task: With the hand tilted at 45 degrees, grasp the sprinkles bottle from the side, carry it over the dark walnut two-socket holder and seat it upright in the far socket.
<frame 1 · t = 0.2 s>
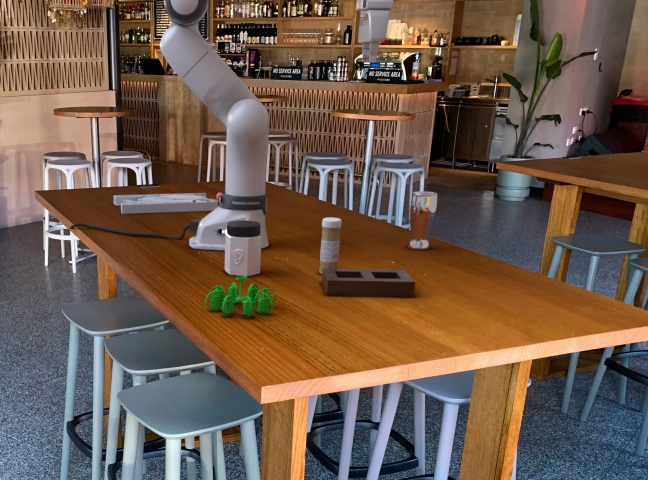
hand: (368, 62, 204), 48 cm above the table, tool pointing down, fingers open, 8 cm apart
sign: (165, 207, 278), on the table
chandelier: (240, 310, 166), on the table
holder: (366, 289, 180), on the table
beer glass: (418, 248, 221), on the table
jar: (242, 273, 194), on the table
sprinkles bottle: (327, 274, 194), on the table
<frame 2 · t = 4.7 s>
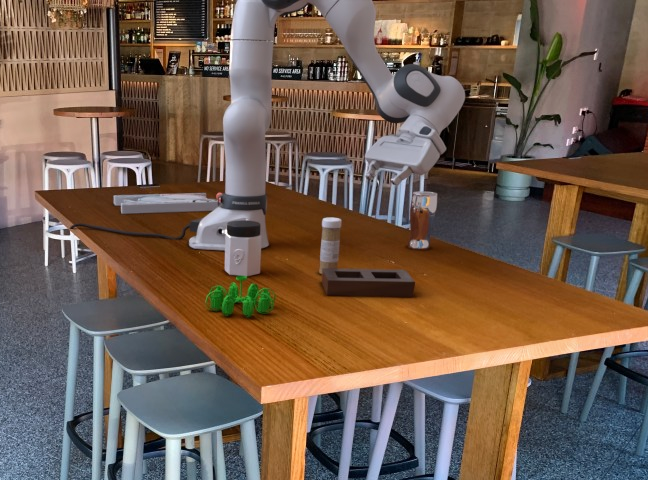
hand: (380, 180, 192), 21 cm above the table, tool tilted 45°, fingers open, 8 cm apart
nothing on the table moved.
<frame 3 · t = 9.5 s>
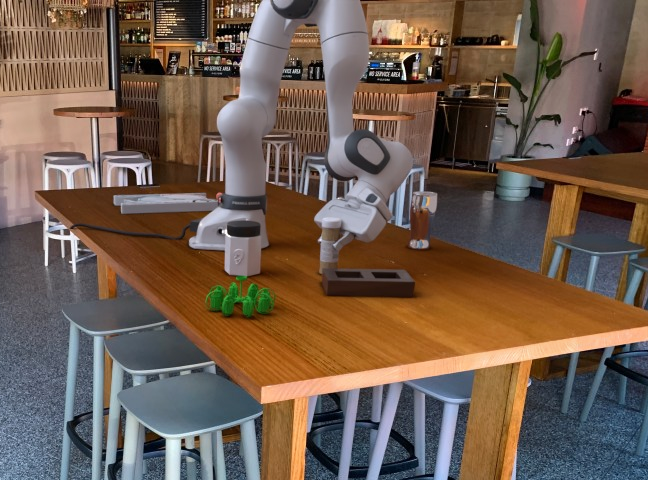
hand: (327, 246, 191), 7 cm above the table, tool tilted 45°, fingers closed on sprinkles bottle, 4 cm apart
sprinkles bottle: (327, 274, 194), on the table, touching gripper
everything else where it was.
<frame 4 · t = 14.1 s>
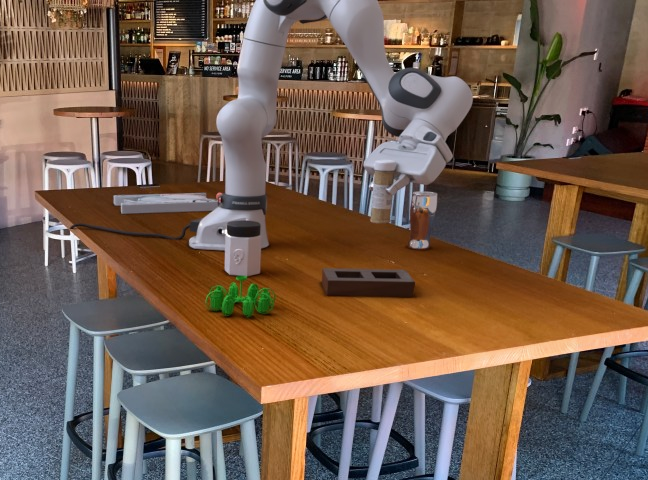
hand: (380, 191, 174), 22 cm above the table, tool tilted 45°, fingers closed on sprinkles bottle, 4 cm apart
sprinkles bottle: (380, 223, 177), point 15 cm above the table, touching gripper
everything else where it was.
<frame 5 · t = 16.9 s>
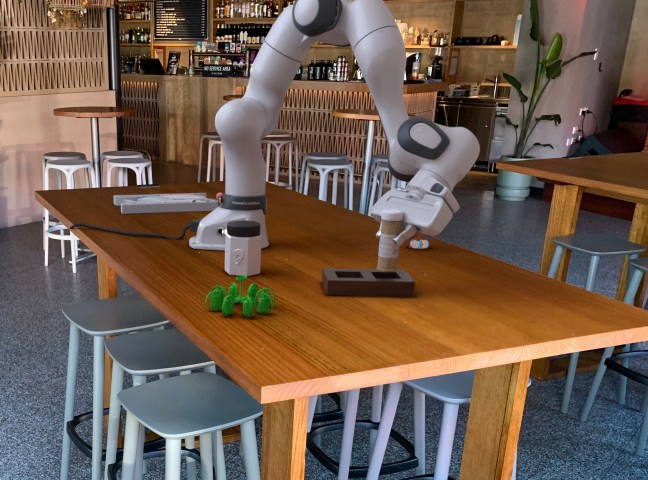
hand: (387, 240, 176), 11 cm above the table, tool tilted 45°, fingers closed on sprinkles bottle, 4 cm apart
sprinkles bottle: (386, 271, 179), point 4 cm above the table, touching gripper
everything else where it was.
when the fingers open (7 cm above the table, at t = 18.9 s): sprinkles bottle stays where it is, resting in holder.
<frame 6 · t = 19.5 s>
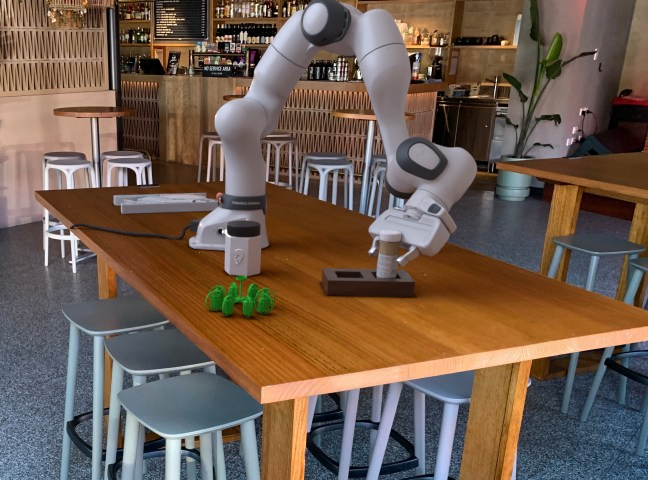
hand: (385, 259, 177), 7 cm above the table, tool tilted 45°, fingers open, 8 cm apart
sprinkles bottle: (384, 290, 180), resting in holder
everything else where it was.
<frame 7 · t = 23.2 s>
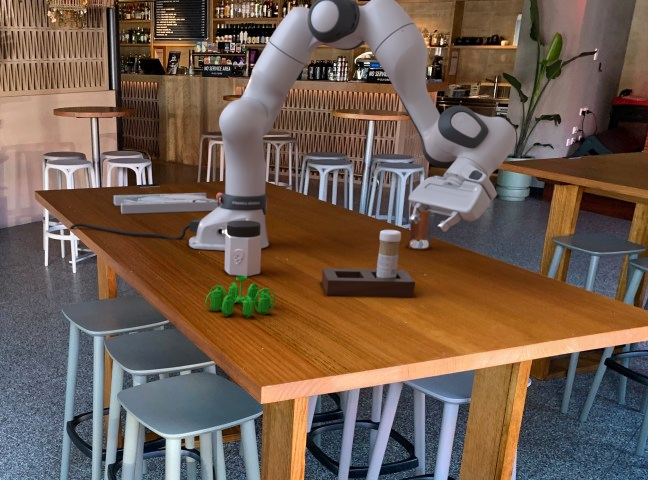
hand: (426, 225, 183), 13 cm above the table, tool tilted 45°, fingers open, 8 cm apart
nothing on the table moved.
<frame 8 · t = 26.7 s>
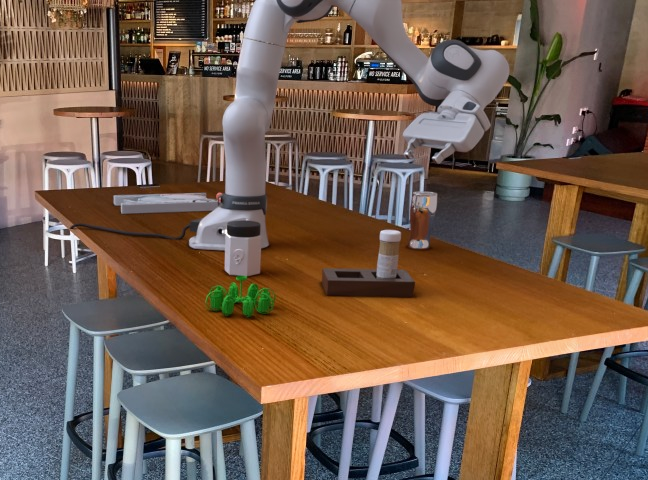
hand: (420, 159, 183), 27 cm above the table, tool tilted 45°, fingers open, 8 cm apart
nothing on the table moved.
at the end: sprinkles bottle 0.0 cm from the target spot in the holder, point 0.0 cm above the holder's base; sprinkles bottle tilted 0°; the gripper is holding nothing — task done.
